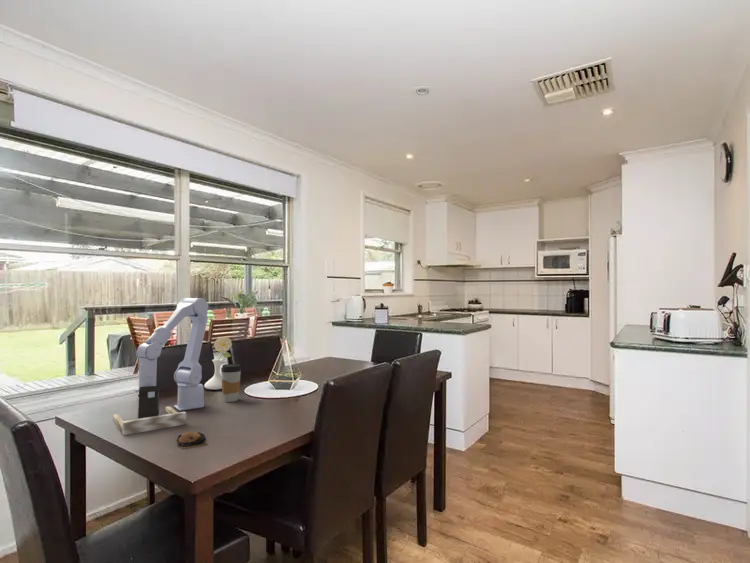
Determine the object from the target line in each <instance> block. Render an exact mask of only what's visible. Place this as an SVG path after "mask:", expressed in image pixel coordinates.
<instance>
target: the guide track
mask: <svg viewBox="0 0 750 563" xmlns="http://www.w3.org/2000/svg"><path fill="white" fill-rule="evenodd" d="M165 412H166V414H161V415H160V414H159V415H158V416H153V417H147V418H140V419H138V418H136V419H129V420H123V418H122V417H121V415H120V413H114V414H113V415H112V417H113V418H112V419H113V421H114V422H115V424H116V426H117V427H118V429H119V430H120V432H121V434H122V435H123V436H127V435H132V434H137V433H143V432H150V431H155V430H161V429H167V428H173V427H178V426H183V425H186V424H187V412H186V411H181V412H177V410H175V409H174V408H173V407H172V406H165Z"/></svg>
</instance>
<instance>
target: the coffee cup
mask: <svg viewBox="0 0 750 563" xmlns="http://www.w3.org/2000/svg"><path fill="white" fill-rule="evenodd" d="M241 372H242V367H241V364H239V363H226V364H222V367H220V373H221V377H222V389H221V391H222V392H221V393H222V400H223V402H225V403H233V402H237V401H238V399H239V395H240V386H241Z"/></svg>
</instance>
